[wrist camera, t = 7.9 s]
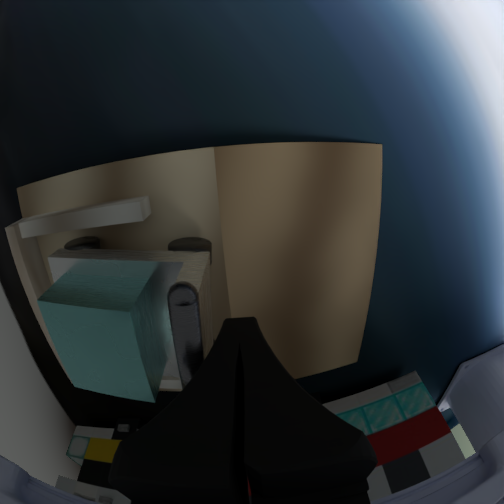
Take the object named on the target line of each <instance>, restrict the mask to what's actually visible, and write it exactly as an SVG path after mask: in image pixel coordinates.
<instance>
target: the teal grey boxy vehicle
mask: <svg viewBox="0 0 504 504" xmlns="http://www.w3.org/2000/svg"><path fill="white" fill-rule="evenodd" d="M48 261H49V265H50V269H51V273H52V277H53V281H54V284H53V285H52V286H51V287H50V288H49V289H47V290H46V291H45V292H44V293H43V294H42V295H41V296H40V297H39V298H38V299H37V303H38V306H39V309H40V312H41V314H42V317H43V320H44V322H45V325H46V327H47V330H48V332H49V335H50V337H51V339H52V342H53V344H54V346H55V349H56V351H57V353H58V355H59V357H60V359H61V361H62V364H63V366H64V368H65V370H66V372H67V374H68V376H69V377H70V379H71V381H72V383H73V385H74V387H78V388H82V389H86V390H90V391H94V392H98V393H103V394H107V395H112V396H117V397H123V398H128V399H134V400H140V401H147V402H154V403H155V402H156V398H157V394H158V391H159V387H160V383H161V380H162V376H170V377H180V380H181V385H182V389H184V387H185V386H186V385H187V384H188V382H189V381H190V380H191V379H192V377H193V376H194V375H195V373H196V372H197V370H198V369H199V367H200V366H201V364H202V363H203V361H204V360H205V358H206V356H207V355H208V353H209V351H210V349H211V348H212V346H213V344H214V342H215V340H214V338H213V325H212V305H211V280H210V266H211V264H212V243H211V242H210V241H209V240H207V239H204V238H199V237H185V238H179V239H176V240H173V241H171V242H170V243H169V244H168V251H155V250H110V249H101V245H100V239H99V238H98V237H95V236H85V237H80V238H76V239H73V240H71V241H69V242H67V243H66V244H65V245H64V248H59V249H58V250H57V251H55V252H54V253H53V254H51V255H50V256H49V257H48Z"/></svg>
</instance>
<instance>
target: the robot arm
mask: <svg viewBox="0 0 504 504" xmlns="http://www.w3.org/2000/svg"><path fill="white" fill-rule="evenodd" d="M437 407H438V409H439V411H440V412H441V411H444V410H446V409H448V408H451V409H452V411H453V413H454V414H455V416H456V418H457V419H458V421H459V423H460V424H461V426H462V428H463V430H464V431H465V433H466V435H467V437H468V439H469V441H470V442H471V444H472V446H473V448H474V450H475V452H476V453H475V454H473V455H472V456H470V457H468V458H467V459H465V460H463V461H462V462H460V463H458V464H456V465H455V466H453V467H451V468H449V469H447V470H445V471H443V472H441V473H439V474H437V475H435V476H433V477H431V478H429V479H427V480H425V481H423V482H421V483H418V484H416V485H414V486H411V487H409V488H407V489H404V490H402V491H399V492H396V493H394V494H391V495H388V496H385V497H383V498H380V499H377V500H374V501H370V499H369V496H368V493H367V491H368V490H369V484H368V481H367V477H368V476H369V475H370V474H371V473H372V471H373V470H374V469H375V467H376V465H377V463H378V460H377V456H376V453H375V451H374V449H373V447H372V445H371V443H370V442H369V440H368V438H367V437H366V435H365V434H364V432H363V431H361V430H360V429H358V428H356V427H354V426H352V425H351V424H349V423H347V422H346V421H344V420H343V419H341V418H340V417H338V416H337V415H335V414H334V413H332V412H331V411H330V410H328V409H327V408H326V407H324V406H323V405H322V404H321V403H319V402H318V401H317V400H316V399H315V398H313V397H312V396H311V395H310V394H309V393H308V392H307V391H306V390H305V389H304V388H303V387H302V386H300V385H299V384H298V382H297V381H296V380H295V379H294V378H293V377H292V376H291V375H290V374H289V372H288V371H287V370H286V369H285V368H284V366H283V365H282V364H281V362H280V361H279V360H278V358H277V357H276V355H275V354H274V353H273V351H272V349H271V348H270V346H269V345H268V343H267V341H266V339H265V338H264V336H263V334H262V332H261V330H260V327H259V325H258V322H257V319H256V318H255V317H254V316H253V317H240V318H226V319H225V320H224V321H223V324H222V327H221V329H220V332H219V334H218V336H217V338H216V340H215V342H214V344H213V346H212V348H211V349H210V351H209V353H208V355H207V356H206V358H205V360H204V361H203V363H202V364H201V366H200V367H199V369H198V370H197V372H196V373H195V375H194V376H193V377H192V379H191V380H190V381H189V382H188V384H187V385H186V386H185V387H184V389H183V390H182V391H181V392H180V393H179V394H178V395H177V396H176V397H175V398H174V399H173V401H172V402H171V403H170V404H169V405H168V406H167V407H165V408H164V409H163V410H162V411H161V412H160V413H159V414H157V415H156V416H155V417H154V418H153V419H152V420H150V421H149V422H148V423H147V424H146V425H144V426H143V427H141V428H140V429H139V430H137V431H136V432H134V433H133V434H131V435H130V436H128V437H127V438H125V439H124V440H122V441H120V442H119V445H118V447H117V450H116V452H115V454H114V457H113V460H112V464H111V468H110V472H109V476H108V481H109V483H110V485H111V486H112V487H113V488H115V489H116V490H117V491H119V492H120V493H121V494H123V495H124V496H125V497H127V498H128V499H130V500H131V504H250V501H249V489H248V480H249V484H250V488H251V499H252V504H504V344H502V345H500V346H498V347H496V348H494V349H492V350H490V351H488V352H486V353H484V354H482V355H480V356H477V357H475V358H473V359H471V360H468V361H466V362H464V363H462V364H461V365H460V366H459V368H458V370H457V372H456V373H455V375H454V377H453V379H452V381H451V383H450V384H449V386H448V388H447V390H446V391H445V393H444V395H443V396H442V398H441V400H440V401H439V403H438V405H437ZM0 504H100V503H97V502H94V501H90V500H87V499H84V498H82V497H79V496H76V495H73V494H71V493H68V492H65V491H63V490H60V489H58V488H56V487H53V486H50V485H49V484H47V483H44V482H42V481H40V480H38V479H36V478H34V477H32V476H30V475H29V474H28V473H27V472H26V471H25V470H23V469H22V468H21V467H19V466H18V465H16V464H15V463H13V462H11V461H9V460H8V459H6V458H4V457H3V456H1V455H0Z"/></svg>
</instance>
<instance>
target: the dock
mask: <svg viewBox="0 0 504 504" xmlns="http://www.w3.org/2000/svg"><path fill="white" fill-rule="evenodd" d="M381 188H382V144H369V143H347V142H278V143H256V144H241V145H228V146H218V147H207V148H198V149H190V150H182V151H174V152H167V153H161V154H154V155H148V156H142V157H137V158H131V159H126V160H121V161H116V162H111V163H106V164H102V165H97V166H93V167H89V168H84V169H80V170H76V171H72V172H68V173H65V174H61V175H57V176H54V177H50V178H47V179H44V180H40V181H37V182H34V183H31V184H28V185H25V186H22V187H19V188H17V193H18V199H19V204H20V209H21V213H22V219H21V220H19V221H17V222H15V223H13V224H11V225H9V226H8V227H6V228H5V230H6V234H7V238H8V241H9V245H10V248H11V252H12V255H13V258H14V261H15V264H16V267H17V270H18V273H19V276H20V279H21V282H22V284H23V287H24V289H25V292H26V295H27V297H28V300H29V302H30V304H31V307H32V309H33V311H34V314H35V316H36V318H37V320H38V322H39V324H40V327H41V329H42V331H43V333H44V335H45V337H46V339H47V341H48V343H49V345H50V346H51V348H52V350H53V352H54V354H55V356H56V357H57V359H58V361H59V363H60V364H61V366H62V368H63V370H64V371H65V373H66V375H67V376H68V374H67V372H66V370H65V368H64V366H63V364H62V361H61V359H60V357H59V355H58V353H57V351H56V349H55V346H54V344H53V342H52V339H51V337H50V335H49V332H48V330H47V327H46V325H45V322H44V320H43V317H42V314H41V312H40V309H39V306H38V303H37V299H38V298H39V297H40V296H41V295H42V294H43V293H44V292H45V291H46V290H47V289H49V288H50V287H51V286H52V285H53V284H54V281H53V277H52V273H51V269H50V265H49V261H48V257H49V256H50V255H51V254H53V253H54V252H55V251H57V250H58V249H59V248H64V245H65V244H66V243H67V242H69V241H71V240H73V239H76V238H80V237H85V236H95V237H98V238H99V239H100V245H101V249H110V250H155V251H168V244H169V243H170V242H171V241H173V240H176V239H179V238H185V237H199V238H204V239H207V240H209V241H210V242H211V243H212V264H211V266H210V280H211V305H212V325H213V338H214V340H216V338H217V336H218V334H219V332H220V329H221V327H222V324H223V321H224V320H225V319H226V318H240V317H253V316H254V317H255V318H256V319H257V322H258V325H259V327H260V330H261V332H262V334H263V336H264V338H265V339H266V341H267V343H268V345H269V346H270V348H271V349H272V351H273V353H274V354H275V355H276V357H277V358H278V360H279V361H280V362H281V364H282V365H283V366H284V368H285V369H286V370H287V371H288V372H289V374H290V375H291V376H292V377H293V378H294V379H297V378H302V377H306V376H310V375H313V374H317V373H321V372H325V371H328V370H332V369H335V368H338V367H342V366H345V365H348V364H352V363H355V362H357V360H358V355H359V351H360V347H361V342H362V338H363V333H364V328H365V323H366V318H367V313H368V307H369V301H370V295H371V289H372V283H373V276H374V269H375V261H376V252H377V243H378V233H379V221H380V207H381ZM68 378H69V379H70V377H69V376H68ZM70 381H71V379H70ZM71 383H72V381H71ZM72 384H73V383H72ZM182 390H183V389H182V385H181V380H180V377H170V376H162V380H161V383H160V387H159V391H182Z"/></svg>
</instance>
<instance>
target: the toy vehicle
mask: <svg viewBox="0 0 504 504" xmlns="http://www.w3.org/2000/svg"><path fill="white" fill-rule="evenodd" d="M310 395H311V396H312V397H313V398H315V399H316V400H317V401H318V402H319V403H321V404H322V401H321V398H320V394H319V392H316V393H313V394H310ZM322 405H323V406H324V407H326V408H327V409H328V410H330V411H331V412H332V413H334V414H335V415H337V416H338V417H340V418H341V419H343V420H344V421H346V422H347V423H349V424H351V425H352V426H354V427H356V428H358V429H360V430H361V431H363V432H364V434H365V435H366V437H367V438H368V440H369V442H370V443H371V445H372V447H373V449H374V451H375V453H376V456H377V460H378V463H377V465H376V467H375V469H374V470H373V471H372V473H371V474H370V475H369V476H368V477H367V481H368V484H369V490H368V491H367V493H368V496H369V499H370V501H374V500H377V499H380V498H383V497H385V496H388V495H391V494H394V493H396V492H399V491H402V490H404V489H407V488H409V487H411V486H414V485H416V484H418V483H421V482H423V481H425V480H427V479H429V478H431V477H433V476H435V475H437V474H439V473H441V472H443V471H445V470H447V469H449V468H451V467H453V466H455V465H456V464H458V463H460V462H462V461H463V460H465V457H464V455H463V453H462V451H461V449H460V447H459V446H458V443H457V442H456V440H455V438H454V436H453V434H452V432H451V430H450V429H449V427H448V425H447V423H446V421H445V420H444V418H443V416H442V414H441V412H440V411H439V409H438V407H437V406H436V404H435V402H434V400H433V399H432V397H431V395H430V394H429V392H428V390H427V389H426V387H425V385H424V384H423V382H422V380H421V379H420V377H419V376H418V374H417V372H416V371H413V372H411V373H409V374H407V375H404V376H402V377H399V378H397V379H395V380H392V381H390V382H387V383H385V384H382V385H379V386H377V387H374V388H371V389H368V390H366V391H363V392H360V393H357V394H354V395H351V396H348V397H345V398H342V399H338V400H335V401H332V402H328V403H325V404H322ZM144 425H146V424H145V423H144V422H143V421H142V420H141V419H140V418H118V419H117V422H116V426H115V429H112V428H97V427H85V426H76V429H75V432H74V434H73V437H72V439H71V442H70V445H69V447H68V450H67V453H66V455H67V456H68V457H69V458H70V459H72V460H73V461H74V462H76V463H77V464H79V465H80V466H81V470H80V473H79V476H78V480H77V481H76V480H72V479H69V478H66V477H63V476H59V477H58V479H57V483H56V486H55V487H56V488H58V489H60V490H63V491H65V492H68V493H71V494H73V495H76V496H79V497H82V498H84V499H87V500H90V501H94V502H97V503H100V504H131V500H130V499H128V498H127V497H125V496H124V495H123V494H121V493H120V492H119V491H117V490H116V489H115V488H113V487H112V486H111V485H110V483H109V481H108V476H109V472H110V468H111V464H112V460H113V457H114V454H115V452H116V450H117V447H118V445H119V442H120V441H122V440H124V439H125V438H127V437H128V436H130V435H131V434H133V433H134V432H136V431H137V430H139V429H140V428H141V427H143V426H144ZM248 489H249V501H250V504H252V499H251V488H250V484H249V480H248Z"/></svg>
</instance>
